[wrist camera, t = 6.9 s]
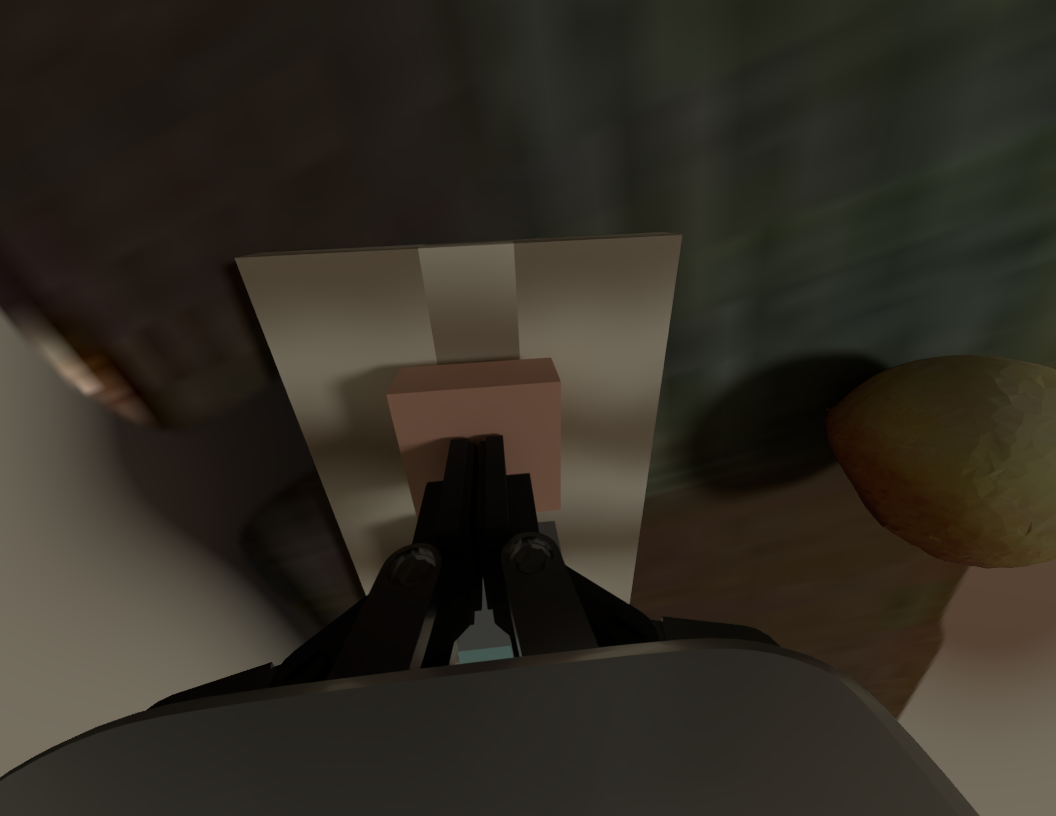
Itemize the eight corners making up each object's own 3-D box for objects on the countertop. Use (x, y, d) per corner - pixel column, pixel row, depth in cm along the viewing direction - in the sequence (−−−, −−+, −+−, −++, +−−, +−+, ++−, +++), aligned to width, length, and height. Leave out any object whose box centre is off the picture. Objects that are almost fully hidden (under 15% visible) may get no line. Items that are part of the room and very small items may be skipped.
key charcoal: (436, 512, 16) (425, 575, 13) (550, 502, 16) (563, 560, 14) (452, 587, 18) (446, 653, 16) (551, 577, 19) (562, 639, 16)
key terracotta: (407, 356, 13) (385, 394, 11) (546, 346, 14) (561, 381, 11) (430, 468, 16) (418, 523, 13) (548, 458, 16) (560, 509, 13)
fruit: (911, 458, 20) (1141, 594, 13) (762, 475, 20) (913, 625, 13) (984, 317, 16) (1360, 401, 9) (802, 336, 16) (1048, 437, 9)
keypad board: (260, 252, 13) (234, 258, 11) (663, 232, 13) (682, 234, 12) (409, 669, 25) (404, 694, 24) (613, 645, 26) (620, 668, 24)
